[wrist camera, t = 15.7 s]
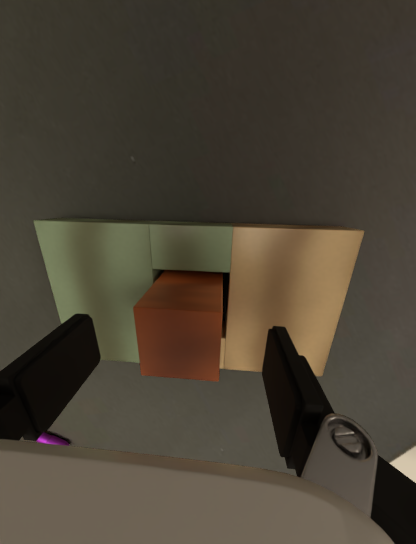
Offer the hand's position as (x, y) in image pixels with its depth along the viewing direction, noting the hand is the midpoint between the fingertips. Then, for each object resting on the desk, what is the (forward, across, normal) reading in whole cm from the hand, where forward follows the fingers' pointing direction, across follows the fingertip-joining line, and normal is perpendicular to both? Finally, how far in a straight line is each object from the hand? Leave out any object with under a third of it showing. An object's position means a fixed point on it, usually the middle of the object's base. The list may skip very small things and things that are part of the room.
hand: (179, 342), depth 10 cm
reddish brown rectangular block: (+7, 0, +1) cm, 7 cm away
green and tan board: (+7, 0, +1) cm, 7 cm away
